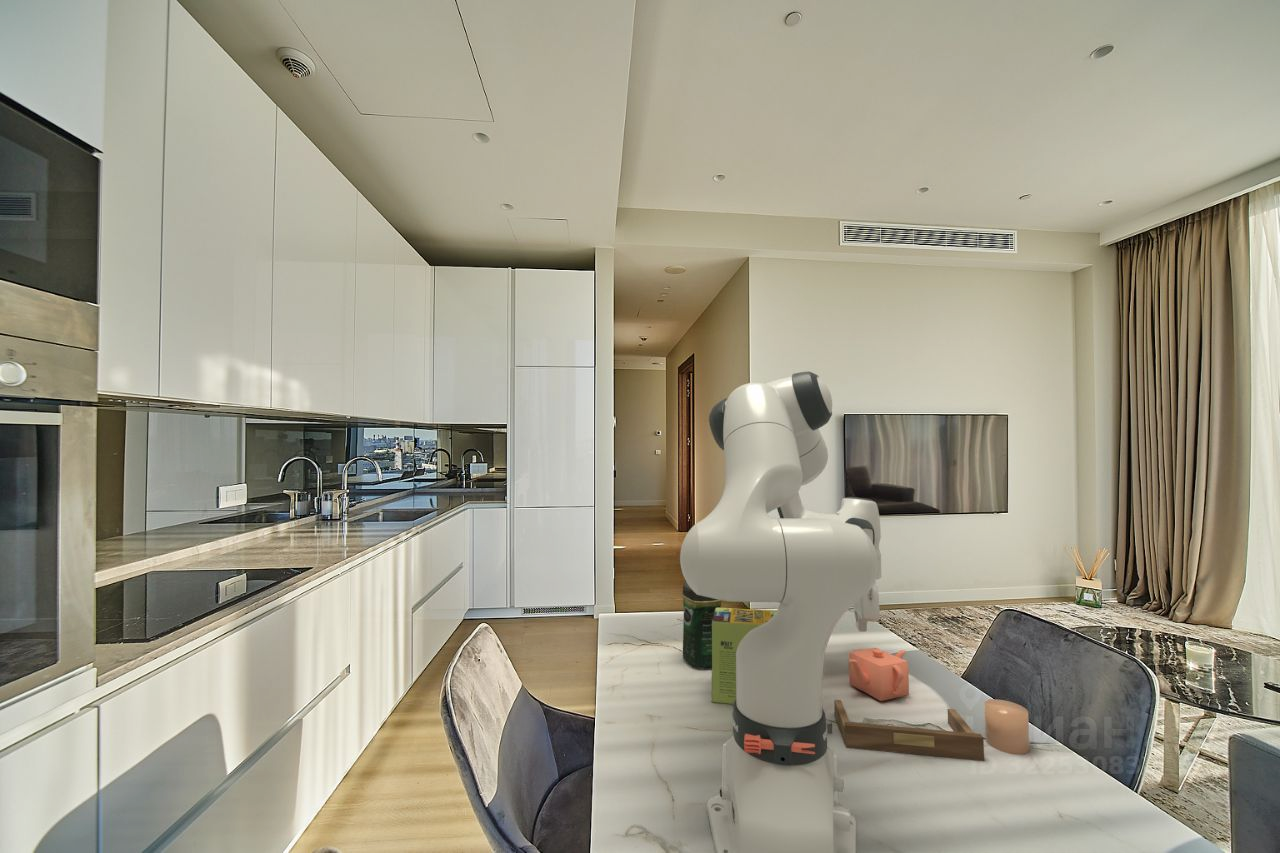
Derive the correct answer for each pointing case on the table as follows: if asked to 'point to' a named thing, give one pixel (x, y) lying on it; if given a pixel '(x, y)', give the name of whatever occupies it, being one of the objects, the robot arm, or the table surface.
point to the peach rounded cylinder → (1007, 726)
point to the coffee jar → (698, 628)
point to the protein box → (730, 647)
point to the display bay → (912, 737)
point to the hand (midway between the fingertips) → (861, 629)
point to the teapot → (879, 673)
